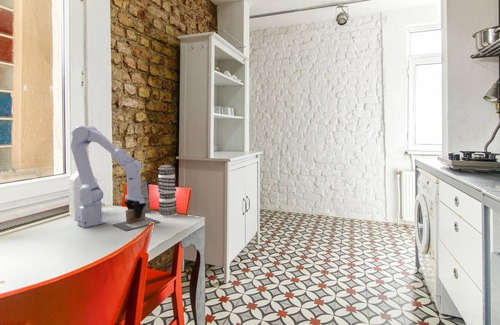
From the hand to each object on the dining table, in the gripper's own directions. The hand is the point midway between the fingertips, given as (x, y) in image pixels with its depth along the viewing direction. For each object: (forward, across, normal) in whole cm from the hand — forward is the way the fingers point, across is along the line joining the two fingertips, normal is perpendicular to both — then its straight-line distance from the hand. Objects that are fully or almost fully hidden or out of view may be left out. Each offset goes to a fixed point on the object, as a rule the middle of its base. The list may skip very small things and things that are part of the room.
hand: (135, 216), depth 134 cm
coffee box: (+3, +19, -12) cm, 23 cm away
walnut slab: (+2, 0, 0) cm, 2 cm away
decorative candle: (+3, 0, -17) cm, 17 cm away
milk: (+3, +33, +10) cm, 35 cm away
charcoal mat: (+3, -2, 0) cm, 3 cm away
